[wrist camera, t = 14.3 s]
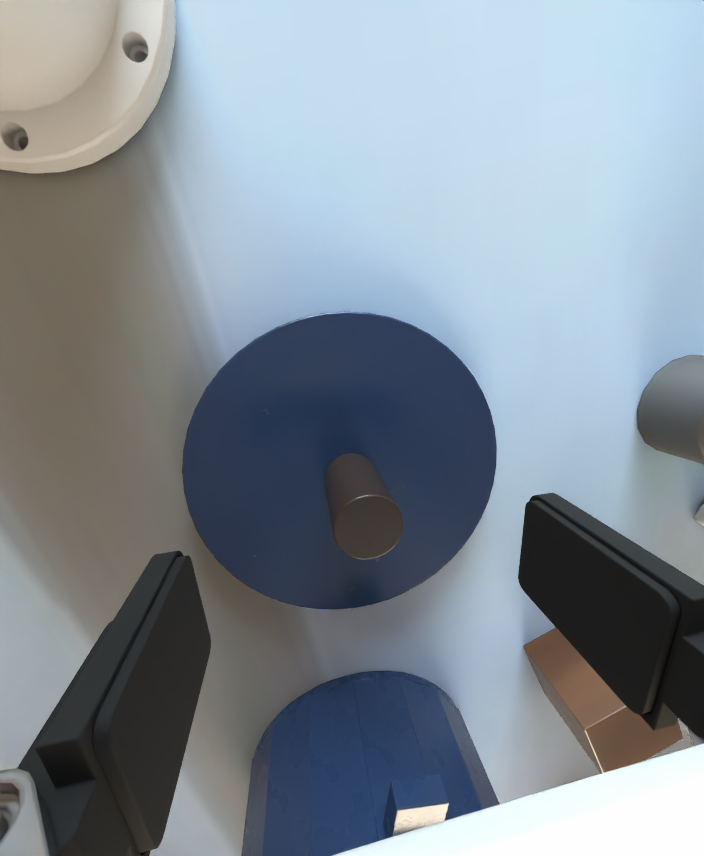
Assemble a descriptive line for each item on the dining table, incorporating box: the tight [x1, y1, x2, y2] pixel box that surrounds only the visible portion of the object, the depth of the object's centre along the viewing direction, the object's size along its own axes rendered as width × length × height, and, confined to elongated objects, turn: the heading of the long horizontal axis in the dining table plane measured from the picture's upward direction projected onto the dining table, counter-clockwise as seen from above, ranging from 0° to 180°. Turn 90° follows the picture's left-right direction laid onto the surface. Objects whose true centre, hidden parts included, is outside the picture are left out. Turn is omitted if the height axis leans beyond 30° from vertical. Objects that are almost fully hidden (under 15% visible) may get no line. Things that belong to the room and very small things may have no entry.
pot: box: [241, 671, 499, 856], centre depth 20 cm, size 16×21×9 cm
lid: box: [182, 312, 497, 609], centre depth 16 cm, size 17×17×6 cm
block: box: [523, 628, 682, 774], centre depth 22 cm, size 6×6×6 cm
